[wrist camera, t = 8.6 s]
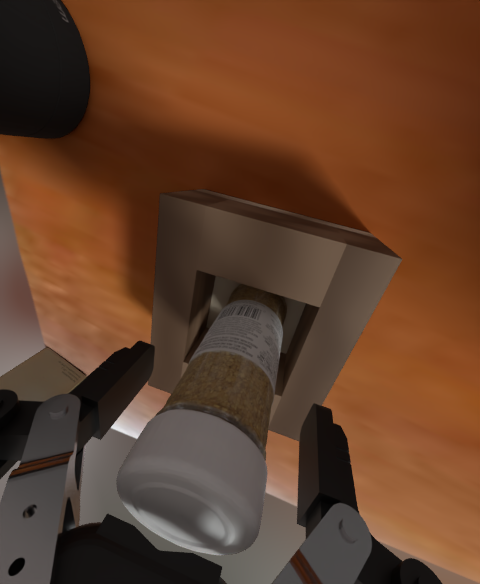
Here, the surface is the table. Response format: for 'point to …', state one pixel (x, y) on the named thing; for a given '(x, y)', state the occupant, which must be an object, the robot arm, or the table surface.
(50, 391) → the skincare box
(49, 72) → the pen holder
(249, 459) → the sprinkles bottle
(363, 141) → the table surface
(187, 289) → the socket block
